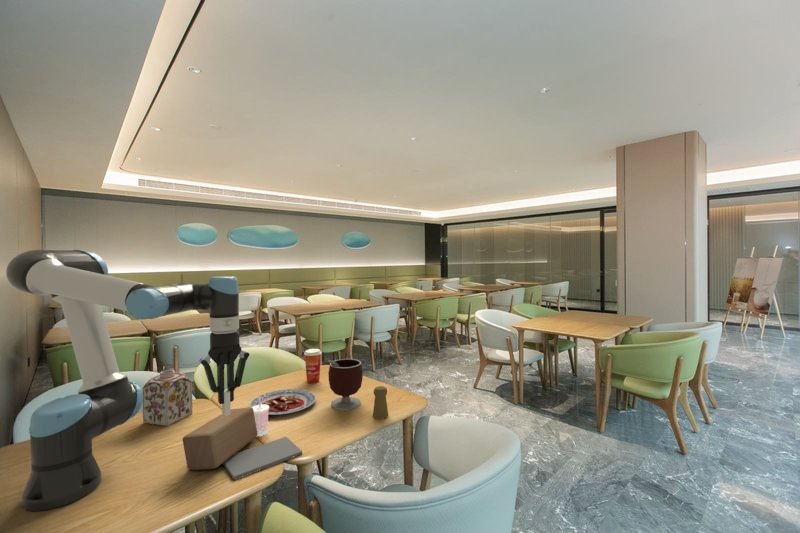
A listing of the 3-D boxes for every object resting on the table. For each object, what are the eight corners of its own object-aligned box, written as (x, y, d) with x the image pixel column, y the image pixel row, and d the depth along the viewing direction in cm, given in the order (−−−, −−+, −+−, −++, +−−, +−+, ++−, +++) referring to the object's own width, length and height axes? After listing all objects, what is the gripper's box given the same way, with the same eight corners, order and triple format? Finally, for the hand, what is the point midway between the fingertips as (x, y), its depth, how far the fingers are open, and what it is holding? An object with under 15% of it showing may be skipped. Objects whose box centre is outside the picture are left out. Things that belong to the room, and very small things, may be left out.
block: (209, 434, 102) (254, 405, 121) (180, 437, 104) (228, 408, 124) (215, 470, 102) (259, 435, 121) (186, 471, 104) (233, 438, 123)
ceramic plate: (279, 425, 132) (279, 417, 132) (236, 409, 146) (236, 402, 146) (328, 401, 154) (328, 394, 154) (287, 390, 168) (287, 383, 168)
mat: (233, 480, 100) (233, 476, 100) (221, 461, 109) (221, 458, 109) (302, 454, 113) (302, 451, 113) (286, 439, 122) (286, 436, 122)
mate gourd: (350, 395, 161) (350, 350, 160) (369, 404, 150) (369, 356, 150) (319, 404, 150) (318, 356, 150) (337, 415, 140) (336, 363, 140)
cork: (391, 415, 140) (391, 386, 140) (380, 420, 136) (380, 391, 135) (380, 410, 144) (380, 383, 144) (369, 415, 140) (369, 387, 140)
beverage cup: (270, 428, 130) (270, 389, 129) (268, 436, 124) (267, 395, 123) (252, 430, 128) (251, 390, 128) (249, 438, 122) (248, 397, 122)
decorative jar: (141, 423, 134) (140, 374, 134) (169, 410, 146) (168, 365, 145) (167, 427, 131) (166, 377, 131) (193, 413, 142) (192, 368, 142)
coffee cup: (301, 383, 176) (301, 352, 176) (308, 377, 184) (308, 348, 184) (318, 384, 175) (317, 353, 174) (324, 378, 183) (324, 348, 183)
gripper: (202, 336, 96) (204, 425, 97) (252, 330, 105) (254, 411, 105) (195, 332, 102) (197, 416, 102) (244, 326, 110) (245, 403, 111)
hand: (226, 413), depth 104 cm, fingers closed
